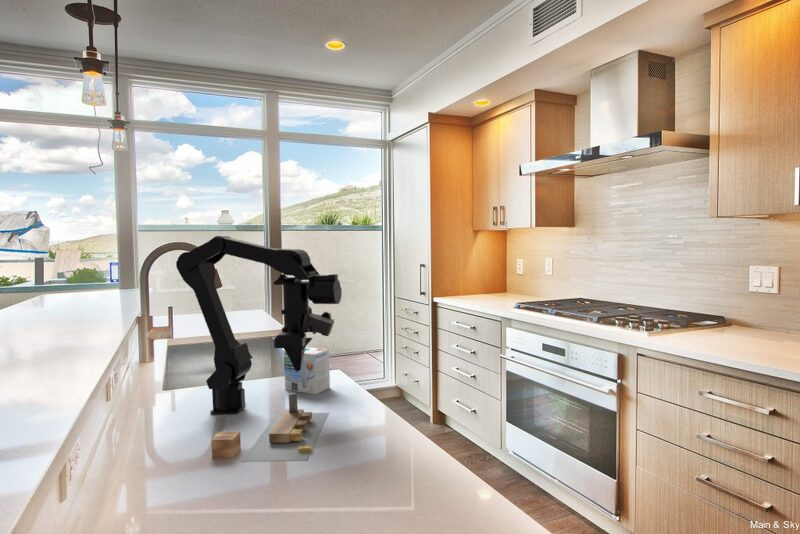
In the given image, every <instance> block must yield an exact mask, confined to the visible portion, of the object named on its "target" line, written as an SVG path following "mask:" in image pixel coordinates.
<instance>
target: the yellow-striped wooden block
mask: <svg viewBox="0 0 800 534" xmlns="http://www.w3.org/2000/svg"><path fill="white" fill-rule="evenodd" d="M210 444H211V458H212V459H213V460H216V459H218V460H219V459H222V460H223V459H235V457H236V456H238V453H240V451H241V450H242V449H241V448H242V445H241V444H242V443H241V430H240V431H238V430H237V431H219V432H218V433H217V434H215V435H214V436H213V438H212V439H211V440H210Z"/></svg>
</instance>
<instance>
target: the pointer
mask: <svg viewBox="0 0 800 534" xmlns="http://www.w3.org/2000/svg"><path fill="white" fill-rule="evenodd" d="M311 451H312V452H313V449H312V446H299V448H298V452H311ZM312 452H311V453H312Z"/></svg>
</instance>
